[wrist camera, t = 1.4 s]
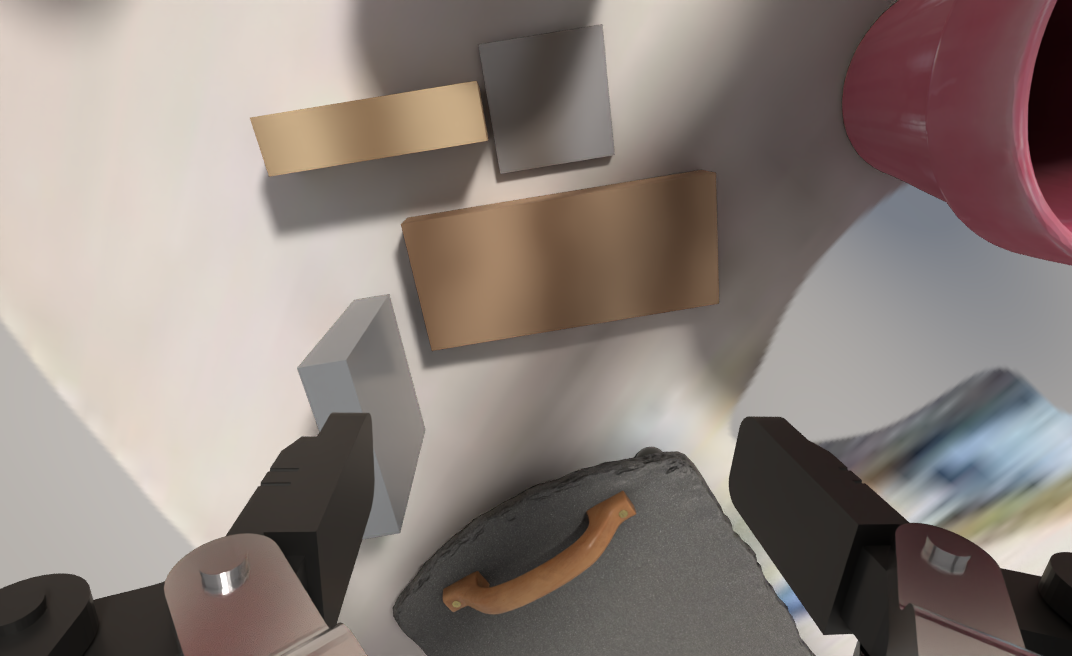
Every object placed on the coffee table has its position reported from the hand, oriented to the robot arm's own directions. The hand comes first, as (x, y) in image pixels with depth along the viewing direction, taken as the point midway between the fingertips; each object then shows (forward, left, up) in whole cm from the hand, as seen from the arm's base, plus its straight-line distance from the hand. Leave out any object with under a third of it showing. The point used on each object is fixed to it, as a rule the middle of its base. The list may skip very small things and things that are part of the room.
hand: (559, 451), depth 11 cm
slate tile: (+9, +6, -19) cm, 22 cm away
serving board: (-4, +33, -20) cm, 39 cm away
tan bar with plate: (+3, -7, -19) cm, 21 cm away
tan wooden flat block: (-2, +1, -19) cm, 19 cm away
